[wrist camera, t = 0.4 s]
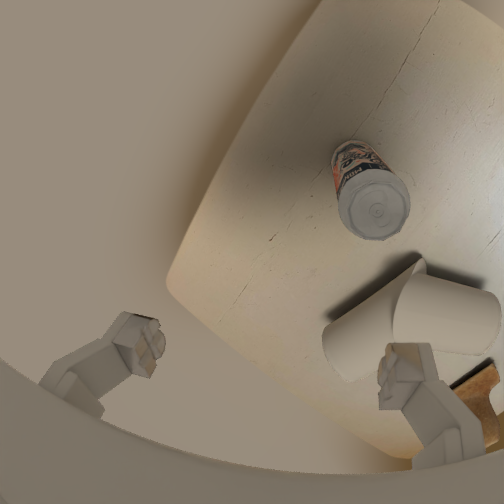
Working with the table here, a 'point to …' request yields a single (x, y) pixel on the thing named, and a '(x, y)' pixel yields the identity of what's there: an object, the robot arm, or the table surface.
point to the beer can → (368, 192)
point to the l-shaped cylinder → (412, 322)
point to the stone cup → (482, 401)
